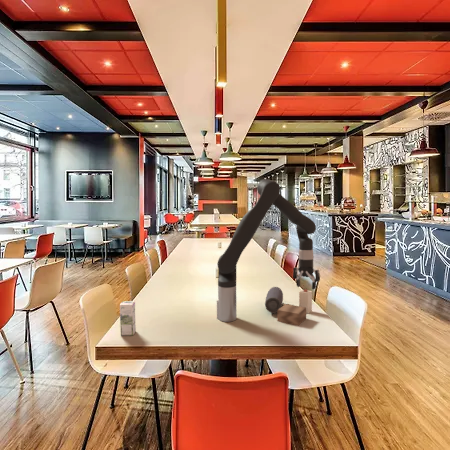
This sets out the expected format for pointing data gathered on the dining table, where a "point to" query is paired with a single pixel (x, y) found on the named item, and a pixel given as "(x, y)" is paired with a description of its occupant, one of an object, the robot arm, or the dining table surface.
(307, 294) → the cream carton
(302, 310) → the walnut block
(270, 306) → the bluetooth speaker
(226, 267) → the robot arm
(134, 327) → the syrup box
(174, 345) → the dining table surface
